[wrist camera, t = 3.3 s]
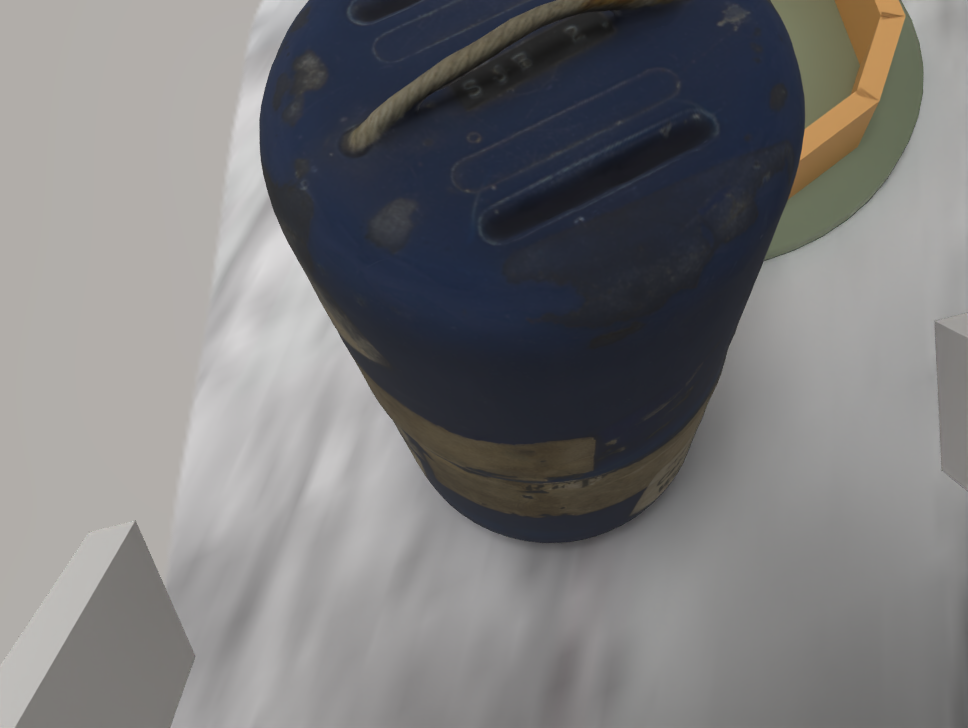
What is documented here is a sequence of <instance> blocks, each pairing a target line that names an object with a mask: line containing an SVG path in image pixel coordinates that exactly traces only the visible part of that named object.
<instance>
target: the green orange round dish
mask: <svg viewBox="0 0 968 728" xmlns="http://www.w3.org/2000/svg"><path fill="white" fill-rule="evenodd" d="M771 2H772V4H773V5H774V7H775V9H776V10H777V12H778V13H779V15H780V17H781V19H782V21H783V23H784V25H785V27H786V29H787V31H788V33H789V36H790V39H791V42H792V45H793V48H794V52H795V55H796V58H797V61H798V65H799V69H800V74H801V79H802V85H803V91H804V97H805V131H804V137H803V144H802V151H801V156H800V161H799V166H798V169H797V173H796V177H795V180H794V183H793V186H792V189H791V192H790V195H789V198H788V201H787V203H786V206H785V208H784V210H783V213H782V215H781V218H780V220H779V223H778V225H777V228H776V231H775V233H774V236H773V239H772V241H771V244H770V246H769V249H768V251H767V254H766V256H765V259H764V260H767V259H770V258H773V257H776V256H779V255H781V254H784V253H787V252H790V251H793V250H795V249H797V248H799V247H802V246H804V245H806V244H808V243H810V242H812V241H814V240H816V239H818V238H820V237H822V236H823V235H825V234H826V233H828V232H829V231H831V230H832V229H834V228H835V227H837V226H838V225H840V224H841V223H843V222H844V221H846V220H847V219H849V218H850V217H851V216H852V215H853V214H854V213H855V212H856V211H858V210H859V209H860V208H861V207H862V206H863V205H864V204H865V203H866V202H868V201H869V200H870V199H871V197H872V196H873V195H874V194H875V193H876V191H877V190H878V189H879V188H880V187H881V185H882V184H883V183H884V182H885V181H886V179H887V178H888V177H889V175H890V173H891V171H892V170H893V168H894V166H895V165H896V163H897V161H898V160H899V158H900V156H901V155H902V153H903V151H904V149H905V147H906V146H907V144H908V142H909V139H910V137H911V134H912V132H913V129H914V126H915V124H916V121H917V119H918V115H919V110H920V105H921V100H922V94H923V62H922V56H921V50H920V44H919V41H918V38H917V35H916V32H915V29H914V26H913V23H912V20H911V18H910V16H909V14H908V12H907V11H906V9H905V7H904V5H903V3H902V1H901V0H771Z"/></svg>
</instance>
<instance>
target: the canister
mask: <svg viewBox="0 0 968 728" xmlns="http://www.w3.org/2000/svg"><path fill="white" fill-rule="evenodd" d="M804 131H805V97H804V91H803V85H802V79H801V74H800V69H799V65H798V61H797V58H796V55H795V52H794V48H793V45H792V42H791V39H790V36H789V33H788V31H787V29H786V27H785V25H784V23H783V21H782V19H781V17H780V15H779V13H778V12H777V10H776V9H775V7H774V5H773V4H772V2H771V0H309V1H308V2H307V3H306V5H305V6H304V7H303V9H302V10H301V11H300V12H299V14H298V15H297V17H296V18H295V20H294V21H293V23H292V24H291V26H290V28H289V29H288V31H287V33H286V35H285V37H284V39H283V41H282V43H281V46H280V48H279V50H278V53H277V55H276V58H275V60H274V62H273V64H272V67H271V70H270V73H269V76H268V80H267V83H266V87H265V91H264V96H263V100H262V104H261V112H260V155H261V163H262V169H263V175H264V179H265V183H266V187H267V190H268V194H269V197H270V200H271V204H272V207H273V210H274V212H275V215H276V217H277V219H278V222H279V224H280V226H281V229H282V231H283V233H284V235H285V237H286V239H287V241H288V243H289V245H290V247H291V248H292V250H293V252H294V254H295V255H296V257H297V259H298V261H299V263H300V264H301V266H302V268H303V270H304V271H305V273H306V275H307V277H308V279H309V281H310V282H311V284H312V286H313V288H314V290H315V292H316V294H317V296H318V298H319V300H320V302H321V303H322V305H323V307H324V309H325V310H326V312H327V314H328V316H329V317H330V319H331V321H332V323H333V324H334V326H335V328H336V329H337V331H338V333H339V335H340V337H341V339H342V340H343V342H344V344H345V345H346V347H347V349H348V350H349V352H350V354H351V355H352V357H353V358H354V360H355V362H356V363H357V365H358V367H359V369H360V371H361V372H362V374H363V376H364V378H365V380H366V381H367V383H368V385H369V387H370V389H371V390H372V392H373V394H374V395H375V397H376V399H377V400H378V402H379V403H380V405H381V406H382V407H383V408H384V410H385V411H386V412H387V414H388V415H389V416H390V417H391V419H392V420H393V421H394V423H395V425H396V426H397V428H398V430H399V432H400V434H401V435H402V437H403V439H404V440H405V442H406V444H407V445H408V447H409V449H410V450H411V452H412V454H413V456H414V458H415V459H416V461H417V463H418V465H419V466H420V468H421V469H422V471H423V472H424V474H425V476H426V477H427V478H428V480H429V481H430V483H431V484H432V485H433V486H434V488H435V489H436V490H437V491H438V492H439V493H440V495H441V496H442V497H443V498H444V499H445V500H446V501H447V502H448V503H449V504H450V505H451V506H453V507H454V508H455V509H456V510H457V511H459V512H460V513H461V514H463V515H464V516H466V517H467V518H469V519H470V520H472V521H473V522H475V523H477V524H478V525H480V526H482V527H484V528H487V529H489V530H491V531H493V532H496V533H499V534H502V535H504V536H507V537H511V538H515V539H519V540H524V541H531V542H540V543H561V542H571V541H577V540H582V539H586V538H590V537H594V536H597V535H600V534H603V533H605V532H608V531H610V530H612V529H614V528H617V527H619V526H621V525H623V524H625V523H626V522H628V521H629V520H631V519H633V518H634V517H636V516H637V515H639V514H640V513H641V512H643V511H644V510H645V509H646V508H647V507H649V506H650V505H651V504H652V503H653V502H654V501H655V500H656V499H657V498H658V497H659V496H660V495H661V494H662V493H663V492H664V491H665V489H666V488H667V487H668V486H669V484H670V483H671V481H672V480H673V479H674V477H675V476H676V474H677V473H678V471H679V469H680V467H681V466H682V464H683V462H684V459H685V457H686V455H687V453H688V450H689V448H690V445H691V442H692V440H693V437H694V435H695V433H696V430H697V428H698V426H699V424H700V422H701V419H702V417H703V414H704V412H705V409H706V406H707V404H708V401H709V399H710V397H711V395H712V393H713V391H714V389H715V387H716V385H717V383H718V380H719V377H720V375H721V372H722V369H723V365H724V362H725V358H726V354H727V350H728V347H729V345H730V343H731V340H732V338H733V336H734V334H735V331H736V328H737V325H738V322H739V320H740V317H741V315H742V313H743V310H744V308H745V305H746V303H747V301H748V298H749V296H750V293H751V291H752V288H753V285H754V283H755V281H756V278H757V276H758V273H759V271H760V269H761V266H762V264H763V261H764V259H765V256H766V254H767V251H768V249H769V246H770V244H771V241H772V239H773V236H774V233H775V231H776V228H777V225H778V223H779V220H780V218H781V215H782V213H783V210H784V208H785V206H786V203H787V201H788V198H789V195H790V192H791V189H792V186H793V183H794V180H795V177H796V173H797V169H798V166H799V161H800V156H801V151H802V144H803V137H804Z"/></svg>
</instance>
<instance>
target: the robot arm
mask: <svg viewBox="0 0 968 728" xmlns="http://www.w3.org/2000/svg"><path fill="white" fill-rule="evenodd" d="M935 342H936V363H937V384H938V405H939V426H940V447H941V468H942V471H943V472H944V473H945V474H947V475H948V476H949V477H950V478H952V479H953V480H954V481H955V482H957V483H958V484H959V485H960V486H962V487H963V488H964V489H966V490H967V491H968V313H964V314H960V315H956V316H952V317H948V318H944V319H940V320H936V321H935ZM194 659H195V654H194V652H193V649H192V647H191V645H190V643H189V640H188V638H187V636H186V634H185V631H184V629H183V627H182V624H181V622H180V620H179V618H178V615H177V613H176V611H175V609H174V606H173V604H172V602H171V600H170V597H169V595H168V593H167V591H166V588H165V586H164V584H163V582H162V579H161V577H160V575H159V573H158V570H157V568H156V566H155V564H154V561H153V559H152V557H151V554H150V552H149V550H148V548H147V546H146V543H145V541H144V539H143V536H142V534H141V533H140V530H139V527H138V525H137V523H136V521H131V522H128V523H123V524H119V525H115V526H111V527H107V528H104V529H99V530H95V531H91V532H89V533H88V534H87V536H86V538H85V539H84V541H83V542H82V544H81V545H80V547H79V548H78V549H77V551H76V552H75V554H74V556H73V557H72V559H71V560H70V562H69V563H68V565H67V566H66V568H65V569H64V571H63V572H62V574H61V575H60V577H59V578H58V580H57V581H56V583H55V584H54V586H53V587H52V589H51V590H50V592H49V593H48V595H47V596H46V598H45V599H44V601H43V602H42V604H41V605H40V607H39V608H38V610H37V611H36V613H35V614H34V616H33V618H32V619H31V621H30V622H29V623H28V625H27V627H26V628H25V629H24V631H23V633H22V634H21V636H20V637H19V639H18V640H17V641H16V643H15V644H14V646H13V647H12V649H11V650H10V652H9V653H8V655H7V657H6V658H5V659H4V661H3V662H2V664H1V665H0V728H170V727H171V724H172V721H173V718H174V715H175V713H176V710H177V707H178V704H179V701H180V698H181V696H182V693H183V690H184V687H185V684H186V681H187V679H188V676H189V673H190V670H191V667H192V664H193V662H194Z"/></svg>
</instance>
